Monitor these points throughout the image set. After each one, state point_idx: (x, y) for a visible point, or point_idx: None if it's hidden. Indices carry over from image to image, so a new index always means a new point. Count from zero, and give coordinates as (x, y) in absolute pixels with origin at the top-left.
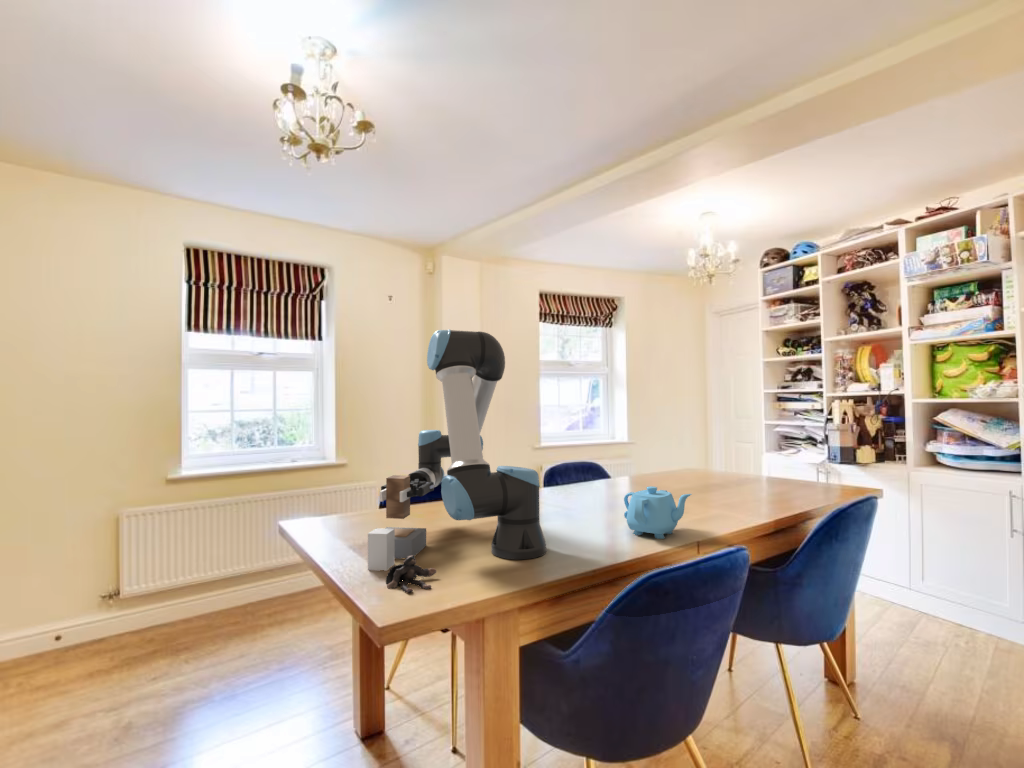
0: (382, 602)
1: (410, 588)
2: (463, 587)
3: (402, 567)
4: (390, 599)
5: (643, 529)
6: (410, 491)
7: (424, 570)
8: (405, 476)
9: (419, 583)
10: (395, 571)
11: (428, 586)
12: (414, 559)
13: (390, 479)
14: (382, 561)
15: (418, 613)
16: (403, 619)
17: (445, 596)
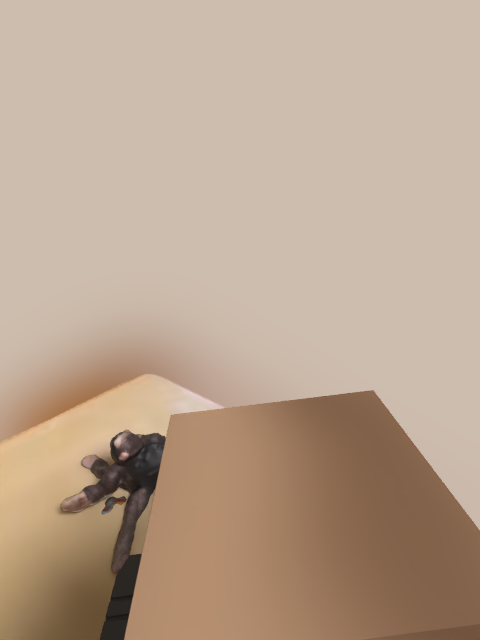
0: (168, 408)
1: (123, 431)
2: (6, 485)
3: (143, 435)
4: (157, 417)
5: None
6: (131, 593)
7: (94, 485)
8: (194, 540)
9: (108, 465)
10: (160, 435)
11: (87, 456)
12: (112, 439)
13: (324, 406)
14: None
15: (104, 398)
16: (123, 385)
17: (55, 444)
